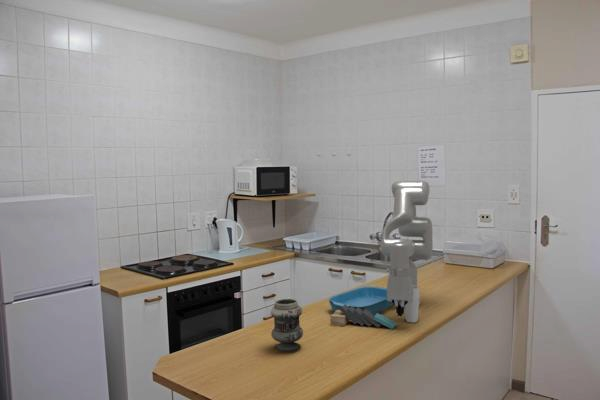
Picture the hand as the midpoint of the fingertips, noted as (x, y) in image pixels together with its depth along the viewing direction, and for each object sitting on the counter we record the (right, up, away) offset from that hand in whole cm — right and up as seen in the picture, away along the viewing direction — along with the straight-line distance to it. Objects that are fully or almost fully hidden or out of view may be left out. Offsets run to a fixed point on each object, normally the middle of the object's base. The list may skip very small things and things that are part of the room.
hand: (400, 315), depth 205 cm
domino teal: (-2, -5, +1) cm, 5 cm away
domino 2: (-14, -5, +6) cm, 16 cm away
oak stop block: (-24, -5, +10) cm, 26 cm away
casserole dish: (-12, -4, +28) cm, 31 cm away
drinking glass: (+7, -5, +9) cm, 12 cm away
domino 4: (-7, -5, +3) cm, 9 cm away
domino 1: (-17, -4, +7) cm, 19 cm away
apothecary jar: (-46, -8, -19) cm, 51 cm away
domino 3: (-11, -5, +5) cm, 13 cm away
